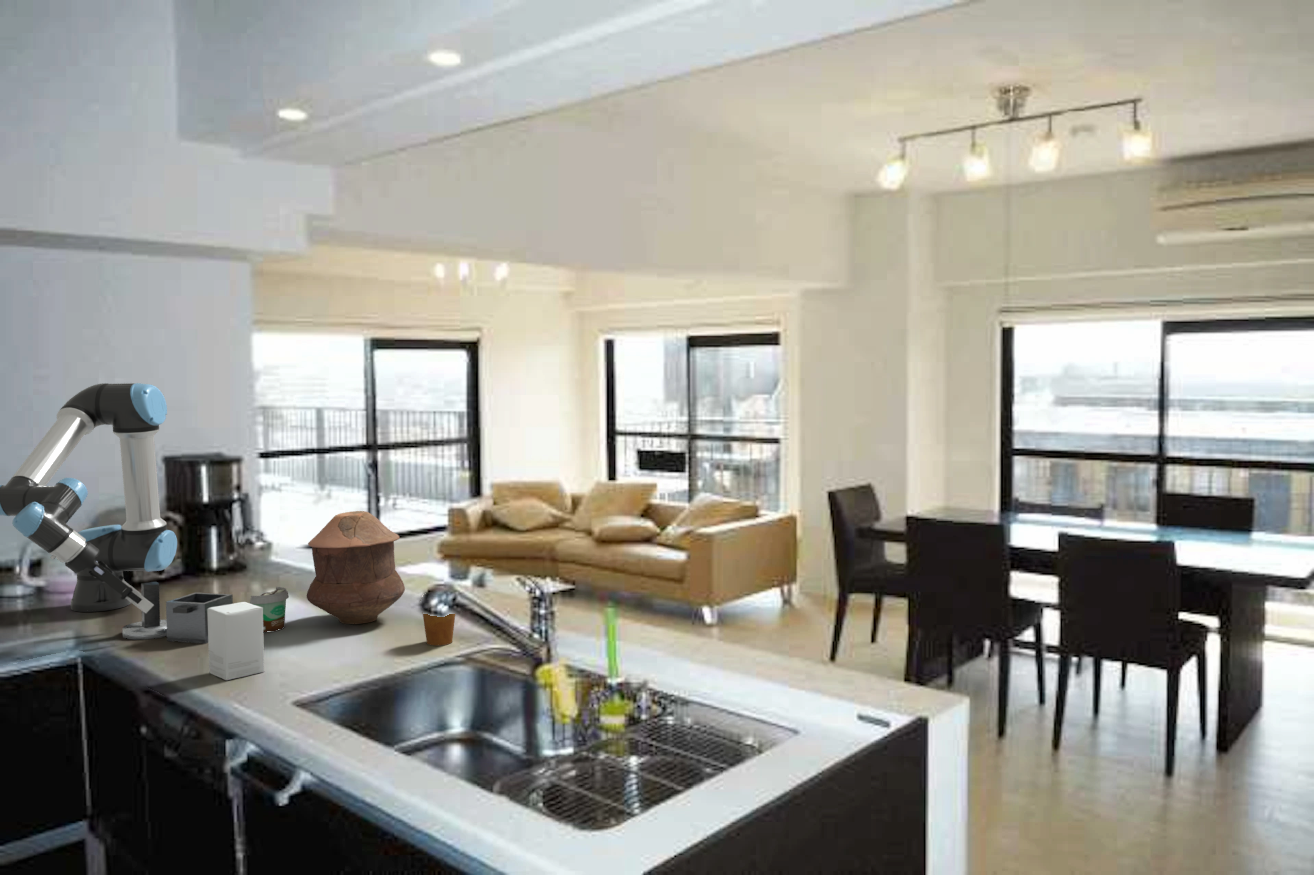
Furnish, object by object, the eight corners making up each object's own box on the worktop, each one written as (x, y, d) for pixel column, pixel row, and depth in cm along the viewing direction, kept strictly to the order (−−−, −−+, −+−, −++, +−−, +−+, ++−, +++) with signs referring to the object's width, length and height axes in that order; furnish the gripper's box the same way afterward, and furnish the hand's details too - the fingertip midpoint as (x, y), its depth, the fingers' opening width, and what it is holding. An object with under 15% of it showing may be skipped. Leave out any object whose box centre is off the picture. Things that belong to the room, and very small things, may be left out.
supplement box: (265, 672, 219) (264, 606, 218) (226, 681, 212) (224, 614, 211) (247, 664, 225) (245, 600, 224) (208, 673, 218) (206, 607, 217)
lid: (127, 642, 243) (126, 590, 242) (118, 631, 253) (117, 582, 253) (183, 634, 251) (183, 584, 250) (173, 624, 261) (172, 576, 261)
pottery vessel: (423, 621, 265) (421, 512, 263) (334, 639, 247) (332, 522, 245) (376, 605, 283) (374, 503, 281) (290, 620, 265) (288, 511, 263)
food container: (271, 635, 250) (271, 597, 249) (250, 634, 251) (249, 596, 250) (298, 623, 262) (298, 587, 261) (278, 622, 263) (277, 586, 263)
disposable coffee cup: (425, 649, 237) (424, 601, 237) (416, 640, 246) (415, 593, 245) (463, 644, 242) (463, 597, 241) (453, 635, 250) (452, 589, 250)
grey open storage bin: (201, 628, 257) (200, 590, 256) (238, 630, 255) (237, 592, 254) (161, 643, 242) (160, 603, 242) (200, 645, 240) (199, 605, 240)
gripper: (57, 556, 248) (124, 606, 258) (70, 572, 229) (142, 625, 239) (80, 534, 251) (146, 584, 261) (95, 547, 232) (165, 601, 242)
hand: (144, 604), depth 250 cm, fingers open, 13 cm apart
